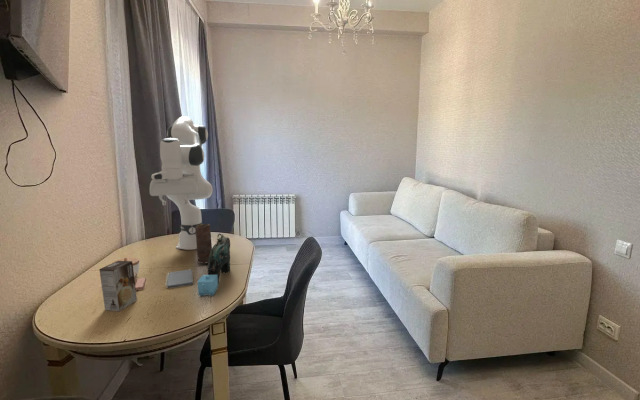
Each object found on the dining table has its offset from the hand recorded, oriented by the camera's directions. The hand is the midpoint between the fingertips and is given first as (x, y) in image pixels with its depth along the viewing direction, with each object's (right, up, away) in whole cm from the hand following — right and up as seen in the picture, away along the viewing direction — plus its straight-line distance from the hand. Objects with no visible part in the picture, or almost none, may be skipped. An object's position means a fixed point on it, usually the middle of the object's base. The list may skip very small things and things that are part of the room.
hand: (175, 204), depth 153 cm
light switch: (-13, -35, -12) cm, 39 cm away
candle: (+8, -30, +16) cm, 35 cm away
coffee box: (-8, -38, -28) cm, 48 cm away
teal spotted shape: (+22, -34, -3) cm, 40 cm away
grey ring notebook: (+4, -34, -5) cm, 34 cm away
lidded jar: (-21, -34, -2) cm, 40 cm away
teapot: (+22, -36, -19) cm, 47 cm away
